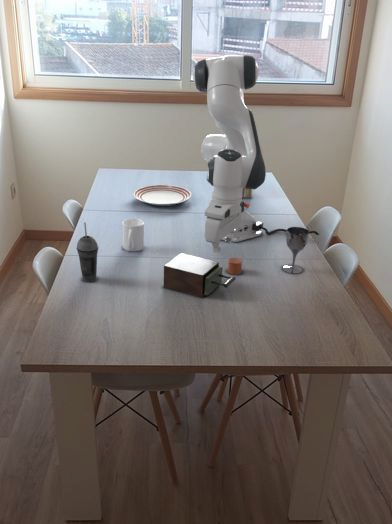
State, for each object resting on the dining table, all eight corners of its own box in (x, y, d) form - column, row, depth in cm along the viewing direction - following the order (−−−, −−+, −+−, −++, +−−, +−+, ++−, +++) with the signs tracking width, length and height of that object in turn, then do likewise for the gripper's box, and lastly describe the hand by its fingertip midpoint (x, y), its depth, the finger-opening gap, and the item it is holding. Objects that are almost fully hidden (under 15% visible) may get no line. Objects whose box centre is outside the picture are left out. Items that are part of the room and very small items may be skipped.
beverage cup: (82, 285, 197) (78, 228, 186) (76, 276, 202) (71, 221, 192) (103, 281, 200) (100, 226, 189) (95, 273, 205) (92, 218, 195)
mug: (140, 256, 219) (140, 230, 214) (118, 255, 220) (118, 229, 214) (145, 244, 229) (145, 219, 224) (125, 243, 230) (124, 218, 224)
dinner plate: (170, 213, 261) (170, 206, 259) (121, 201, 273) (121, 194, 271) (202, 198, 281) (202, 191, 279) (155, 187, 293) (155, 181, 291)
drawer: (237, 286, 199) (238, 269, 196) (223, 300, 190) (225, 282, 187) (186, 274, 206) (187, 257, 202) (171, 286, 197) (172, 269, 194)
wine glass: (305, 267, 217) (311, 228, 209) (301, 275, 211) (307, 236, 203) (284, 263, 219) (289, 225, 211) (279, 271, 213) (284, 232, 205)
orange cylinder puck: (236, 267, 214) (237, 256, 212) (243, 273, 211) (245, 262, 208) (225, 270, 212) (225, 259, 210) (232, 275, 208) (233, 264, 206)
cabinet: (217, 283, 203) (219, 261, 198) (201, 297, 193) (203, 275, 189) (180, 274, 208) (181, 252, 203) (163, 287, 198) (163, 265, 194)
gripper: (229, 195, 189) (226, 235, 197) (202, 212, 174) (199, 255, 181) (247, 198, 187) (243, 239, 194) (221, 216, 171) (218, 259, 179)
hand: (222, 247), depth 188 cm, fingers open, 8 cm apart
